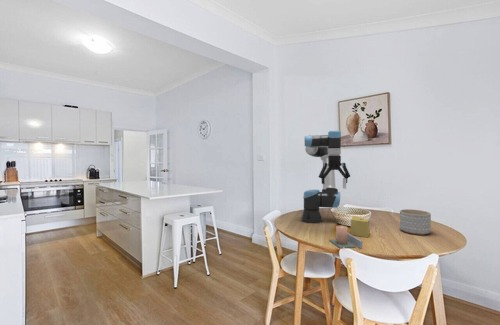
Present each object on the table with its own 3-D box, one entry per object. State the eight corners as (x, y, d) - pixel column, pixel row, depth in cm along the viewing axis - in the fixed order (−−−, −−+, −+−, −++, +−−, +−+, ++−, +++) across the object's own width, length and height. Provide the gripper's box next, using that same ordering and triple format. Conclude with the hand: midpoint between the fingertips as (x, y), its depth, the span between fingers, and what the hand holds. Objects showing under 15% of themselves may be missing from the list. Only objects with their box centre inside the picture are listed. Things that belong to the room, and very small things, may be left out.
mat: (329, 240, 141) (329, 239, 141) (343, 239, 143) (343, 238, 143) (340, 248, 129) (340, 247, 129) (355, 247, 131) (355, 246, 131)
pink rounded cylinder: (334, 241, 139) (334, 225, 138) (343, 240, 140) (343, 225, 139) (339, 245, 133) (339, 228, 132) (349, 244, 134) (349, 228, 133)
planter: (436, 236, 147) (436, 215, 146) (406, 235, 150) (406, 214, 150) (422, 228, 163) (422, 209, 162) (395, 227, 166) (395, 208, 166)
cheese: (369, 233, 155) (369, 217, 154) (368, 238, 145) (368, 221, 145) (352, 230, 160) (352, 215, 160) (349, 235, 151) (349, 219, 151)
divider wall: (344, 238, 145) (344, 231, 145) (345, 238, 145) (345, 231, 145) (360, 248, 129) (360, 241, 129) (362, 248, 129) (362, 241, 129)
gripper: (318, 155, 147) (318, 190, 148) (356, 154, 151) (356, 188, 152) (313, 155, 155) (313, 188, 156) (349, 154, 159) (349, 187, 159)
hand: (334, 188), depth 154 cm, fingers open, 13 cm apart
